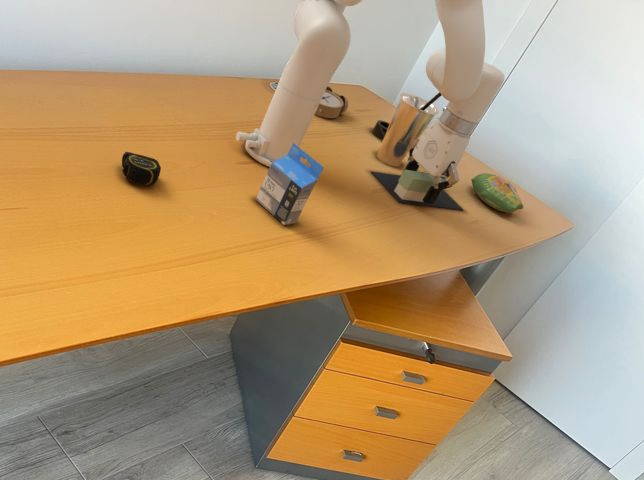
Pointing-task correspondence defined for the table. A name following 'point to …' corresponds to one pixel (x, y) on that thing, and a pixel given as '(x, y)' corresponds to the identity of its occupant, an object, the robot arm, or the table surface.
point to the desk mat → (441, 202)
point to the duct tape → (380, 129)
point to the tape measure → (140, 168)
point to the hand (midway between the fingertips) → (416, 190)
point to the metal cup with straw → (406, 127)
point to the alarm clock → (331, 104)
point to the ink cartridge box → (289, 185)
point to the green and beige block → (414, 185)
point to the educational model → (497, 192)
